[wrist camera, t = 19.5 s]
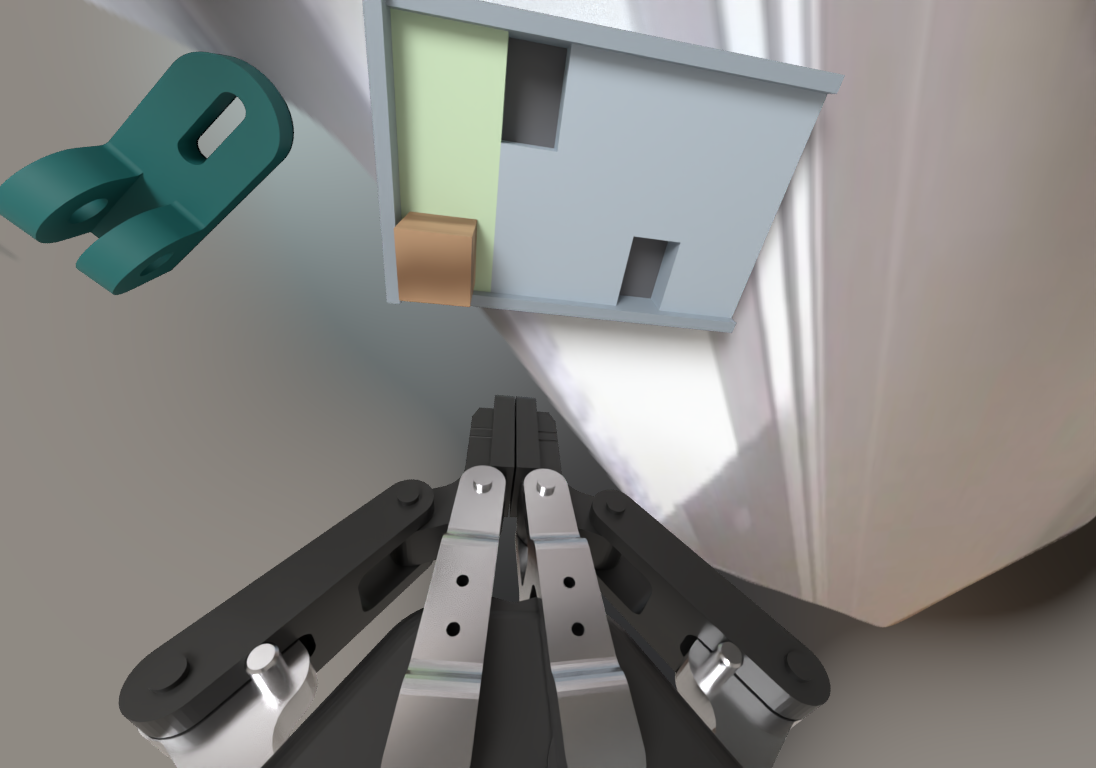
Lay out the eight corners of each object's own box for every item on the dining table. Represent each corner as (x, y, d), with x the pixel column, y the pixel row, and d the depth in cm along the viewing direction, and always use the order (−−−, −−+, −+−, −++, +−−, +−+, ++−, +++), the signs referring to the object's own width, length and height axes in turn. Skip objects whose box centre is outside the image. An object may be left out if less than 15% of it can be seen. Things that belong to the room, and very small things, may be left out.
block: (409, 211, 31) (393, 228, 27) (477, 219, 31) (471, 237, 27) (413, 276, 33) (399, 300, 29) (475, 282, 34) (469, 307, 30)
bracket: (172, 269, 35) (94, 307, 28) (82, 199, 32) (-29, 224, 25) (314, 130, 30) (259, 137, 24) (226, 29, 27) (134, 6, 20)
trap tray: (384, -8, 26) (360, -28, 22) (808, 78, 30) (855, 74, 26) (401, 280, 37) (387, 302, 32) (714, 314, 41) (736, 338, 37)
